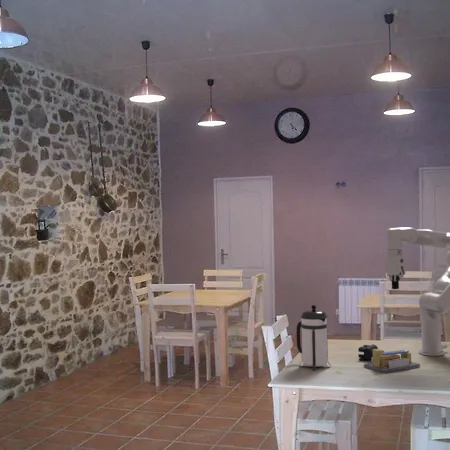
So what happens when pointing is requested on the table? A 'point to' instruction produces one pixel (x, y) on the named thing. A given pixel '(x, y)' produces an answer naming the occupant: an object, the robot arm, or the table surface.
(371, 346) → the end cap
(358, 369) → the table surface
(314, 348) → the coffee press
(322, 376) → the table surface
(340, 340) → the table surface
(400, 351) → the strap
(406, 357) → the block
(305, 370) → the table surface
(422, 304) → the robot arm
